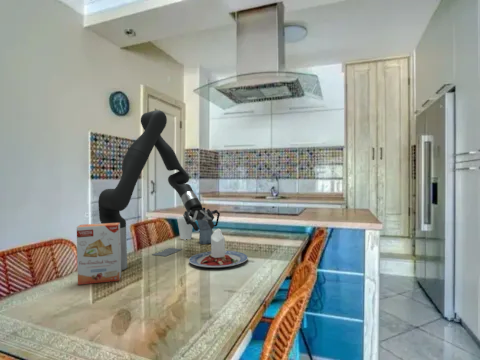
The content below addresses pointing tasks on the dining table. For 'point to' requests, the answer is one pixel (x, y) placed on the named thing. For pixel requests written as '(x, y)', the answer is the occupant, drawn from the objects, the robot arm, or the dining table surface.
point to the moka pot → (206, 229)
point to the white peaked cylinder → (217, 244)
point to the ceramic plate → (218, 259)
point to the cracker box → (98, 253)
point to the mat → (167, 252)
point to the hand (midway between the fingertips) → (205, 228)
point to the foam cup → (184, 228)
